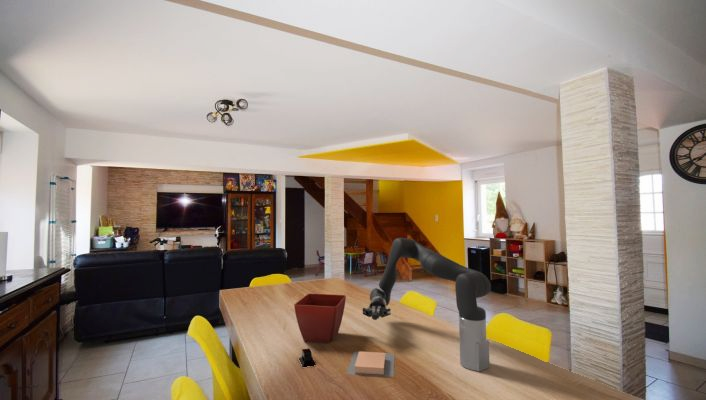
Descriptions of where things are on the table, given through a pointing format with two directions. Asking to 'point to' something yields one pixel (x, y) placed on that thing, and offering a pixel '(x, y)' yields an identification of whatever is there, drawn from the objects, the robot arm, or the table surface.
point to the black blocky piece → (306, 358)
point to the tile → (370, 363)
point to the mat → (387, 373)
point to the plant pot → (320, 316)
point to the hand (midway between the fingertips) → (375, 317)
